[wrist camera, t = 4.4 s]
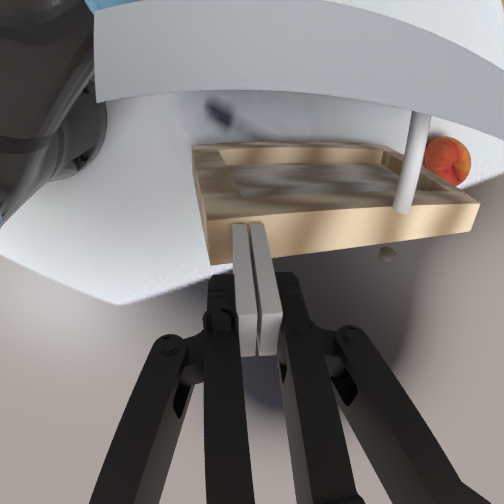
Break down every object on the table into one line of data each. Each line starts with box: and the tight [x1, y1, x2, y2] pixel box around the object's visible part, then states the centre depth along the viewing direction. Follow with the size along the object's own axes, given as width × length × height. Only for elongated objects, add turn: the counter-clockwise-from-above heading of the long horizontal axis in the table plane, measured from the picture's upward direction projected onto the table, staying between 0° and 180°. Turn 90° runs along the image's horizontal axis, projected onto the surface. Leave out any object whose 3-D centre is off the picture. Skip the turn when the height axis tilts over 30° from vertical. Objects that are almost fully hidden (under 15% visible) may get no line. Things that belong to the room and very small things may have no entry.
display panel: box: [94, 0, 504, 214], centre depth 18 cm, size 28×15×30 cm, turn 88°
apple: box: [424, 137, 471, 186], centre depth 34 cm, size 7×7×8 cm
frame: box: [191, 141, 480, 265], centre depth 25 cm, size 24×4×18 cm, turn 88°
